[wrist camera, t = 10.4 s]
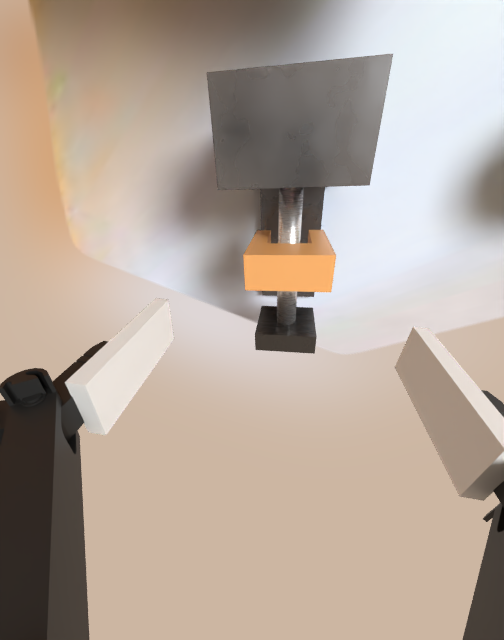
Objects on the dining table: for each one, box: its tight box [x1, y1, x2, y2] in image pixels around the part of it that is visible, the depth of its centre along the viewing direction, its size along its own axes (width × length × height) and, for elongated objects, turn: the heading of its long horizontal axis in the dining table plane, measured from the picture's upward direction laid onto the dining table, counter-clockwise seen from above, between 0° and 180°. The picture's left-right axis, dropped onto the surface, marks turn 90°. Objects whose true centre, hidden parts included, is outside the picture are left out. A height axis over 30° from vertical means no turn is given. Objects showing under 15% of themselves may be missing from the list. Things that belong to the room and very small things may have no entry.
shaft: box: [255, 187, 316, 353], centre depth 24 cm, size 15×6×6 cm, turn 3°
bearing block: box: [207, 54, 393, 297], centre depth 25 cm, size 20×10×14 cm, turn 3°
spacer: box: [243, 230, 336, 292], centre depth 24 cm, size 3×7×9 cm, turn 93°
